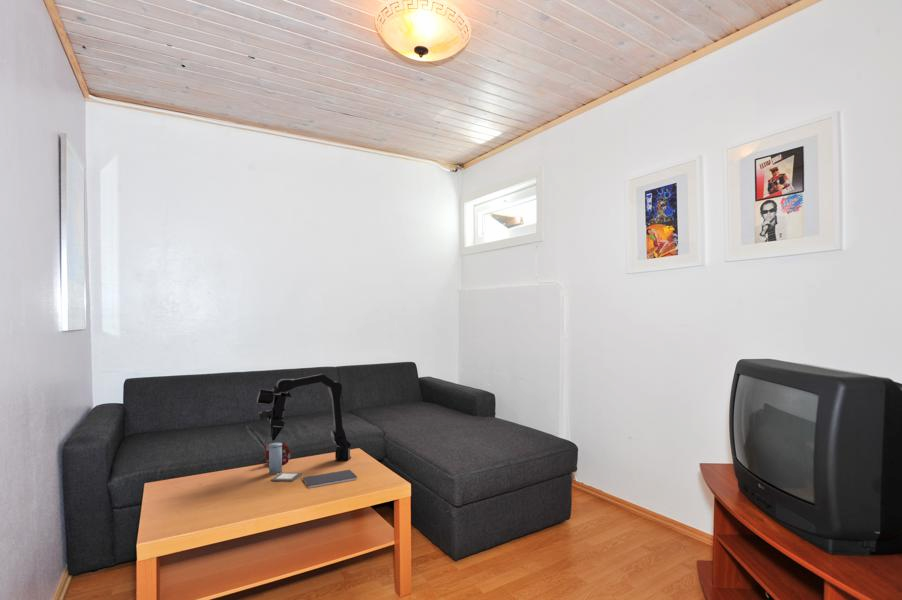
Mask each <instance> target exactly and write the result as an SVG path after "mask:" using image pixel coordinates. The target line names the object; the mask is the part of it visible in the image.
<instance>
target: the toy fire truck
mask: <svg viewBox="0 0 902 600" xmlns="http://www.w3.org/2000/svg"><path fill="white" fill-rule="evenodd" d="M280 443H282V465H286V464H287V463H289V461H290V460H291V450H290V448H289V446H288V445H287V444H286V442H285V441H281V442H280ZM269 444H270V443H266V444H265V445H264V451H265V453H264V454H265V461H264V462H266V463H268V464H269ZM285 463H286V464H285Z"/></svg>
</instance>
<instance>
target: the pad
mask: <svg viewBox="0 0 902 600" xmlns="http://www.w3.org/2000/svg"><path fill="white" fill-rule="evenodd" d="M302 475H303V472H281V473H279V474H276V475H275V476H274V477H273V478H271V479H270V482H294V481H295V480H297V479H298V478H299V477H301V476H302Z"/></svg>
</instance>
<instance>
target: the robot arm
mask: <svg viewBox="0 0 902 600" xmlns="http://www.w3.org/2000/svg"><path fill="white" fill-rule="evenodd" d="M317 383H322V385H324V386H326V387H327V389H328V393H329V396H330V399H331V406H332V407H331V410H332V417H333V418H332V420H333V429H332V430H330V439H331V440H332V443H334V444H335V445H336V449H335V451H334V454H335V455H334V456H335V457H334V458H335V459H334V460H338V461H337V462H349V460H351V459H352V456H351V445H352V443H350V442H349V441H348V440H347V436H346V432H345V429H344V427H343V416H342V407H341V406H342V405H341V398H342V392H343V386H342V383H341V382H338V381H336V380H333V379H331V378H329V377H328V376H326V374H324V373H318V374H315V375H314V374H313V375H308V376H304V377H299V378H281V379H278V380H277V382H276V383H275V384H276V385H275V386H274V387H273V388H271V389H263V388H259V391H258V395H257V397H256V404H259V405H261V404H262V405H270V404H272V406H271V408H270V409H265V410H261V411H258V412H257V413H258V419H259V420H258V421H263V420H265V419H267V423H268V424H269V429H270V433H269V434H270V437H271V441H272V442H273V441H275V440H276V438H277V437H278V435H279V434H280V432H281V431H282V430H283V428H284V427H285V420H284V415H285V411H286V404H287V399H288V398H292V395H291V393H290V391H291V390H293V389H296V388H298V387H303V386H308V385H312V384H313V385H314V384H317Z"/></svg>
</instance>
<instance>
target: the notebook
mask: <svg viewBox="0 0 902 600" xmlns="http://www.w3.org/2000/svg"><path fill="white" fill-rule="evenodd" d="M357 479H358V476H357V475H356V474H355V473H354V472H353V471H352V469H345V470H339V471H333V472H326V473H321V474H315V475H310V476H304V477H302V481H304V484H305V485H306V486H307V487H308V488H309V489H310V488H311V489H312V488H316V487H321V486H327V485H328V486H329V485H333V484H339V483H345V482H350V481H356V480H357Z"/></svg>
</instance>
